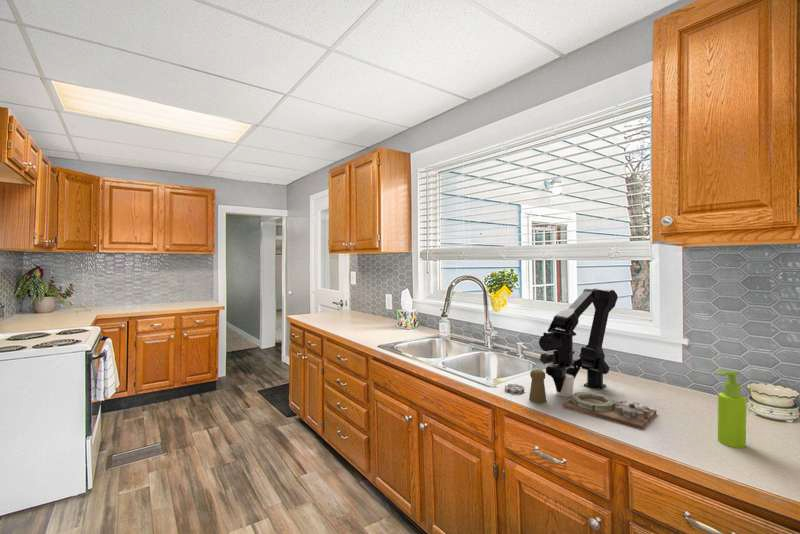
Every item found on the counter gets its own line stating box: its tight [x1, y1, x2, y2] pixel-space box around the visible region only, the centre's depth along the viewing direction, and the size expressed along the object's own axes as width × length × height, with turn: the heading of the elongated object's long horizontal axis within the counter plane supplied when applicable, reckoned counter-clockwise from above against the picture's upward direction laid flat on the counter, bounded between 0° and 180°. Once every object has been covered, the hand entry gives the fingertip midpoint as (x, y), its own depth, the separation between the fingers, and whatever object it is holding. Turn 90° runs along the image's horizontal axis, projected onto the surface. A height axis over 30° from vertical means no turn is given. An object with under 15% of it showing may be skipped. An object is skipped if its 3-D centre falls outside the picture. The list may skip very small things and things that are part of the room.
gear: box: [504, 383, 525, 394], centre depth 147 cm, size 7×7×2 cm
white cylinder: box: [555, 374, 575, 398], centre depth 143 cm, size 7×7×7 cm
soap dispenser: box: [716, 369, 747, 449], centre depth 105 cm, size 6×7×20 cm
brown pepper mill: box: [528, 368, 548, 404], centre depth 137 cm, size 6×6×11 cm
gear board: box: [562, 391, 657, 431], centre depth 127 cm, size 16×24×4 cm, turn 43°
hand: (564, 388), depth 143 cm, fingers open, 9 cm apart
